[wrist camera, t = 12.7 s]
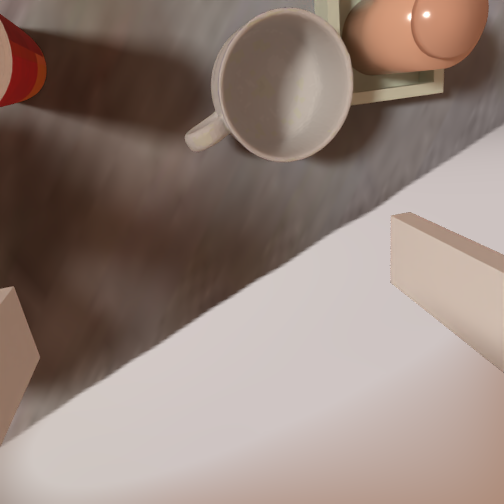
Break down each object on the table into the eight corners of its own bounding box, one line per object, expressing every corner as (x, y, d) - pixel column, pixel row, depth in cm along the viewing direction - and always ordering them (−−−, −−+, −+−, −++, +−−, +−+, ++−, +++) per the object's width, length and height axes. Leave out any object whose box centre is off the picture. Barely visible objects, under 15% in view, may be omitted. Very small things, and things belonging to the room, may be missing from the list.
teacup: (303, 8, 37) (339, -14, 29) (331, 129, 41) (368, 136, 34) (153, 59, 36) (152, 49, 28) (197, 178, 40) (206, 196, 32)
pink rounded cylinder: (343, 79, 39) (408, 73, 29) (340, -2, 36) (410, -39, 26) (407, 71, 40) (492, 62, 30) (409, -9, 37) (502, -47, 27)
